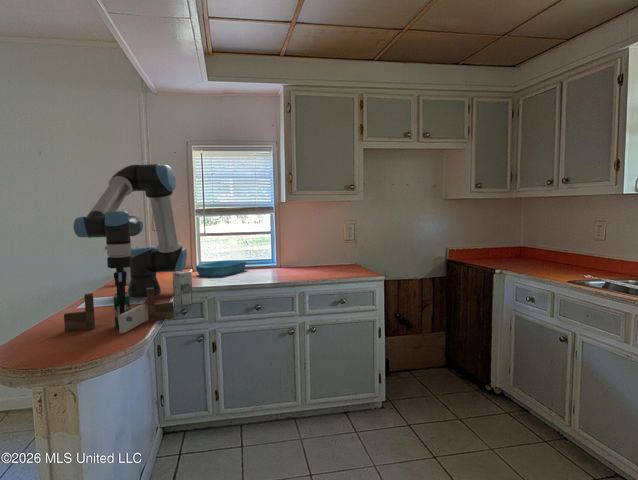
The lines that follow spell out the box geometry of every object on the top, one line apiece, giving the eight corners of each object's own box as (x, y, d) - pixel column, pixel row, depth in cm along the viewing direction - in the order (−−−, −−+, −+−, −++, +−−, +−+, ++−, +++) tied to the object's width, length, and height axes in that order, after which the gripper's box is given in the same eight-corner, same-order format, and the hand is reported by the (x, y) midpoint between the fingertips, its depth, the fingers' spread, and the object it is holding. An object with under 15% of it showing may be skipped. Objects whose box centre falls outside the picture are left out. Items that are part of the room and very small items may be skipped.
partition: (66, 330, 139) (63, 295, 138) (173, 316, 154) (171, 285, 153) (64, 332, 136) (62, 297, 135) (174, 318, 151) (172, 286, 150)
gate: (142, 320, 148) (141, 304, 147) (149, 320, 148) (148, 304, 147) (119, 333, 133) (118, 315, 132) (127, 333, 133) (126, 315, 132)
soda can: (115, 326, 142) (113, 292, 142) (131, 324, 144) (129, 291, 144) (114, 330, 138) (112, 295, 137) (131, 328, 140) (129, 294, 139)
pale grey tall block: (121, 284, 226) (119, 246, 224) (129, 282, 232) (127, 245, 230) (131, 285, 224) (129, 247, 222) (139, 283, 229) (137, 246, 228)
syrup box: (185, 302, 177) (183, 270, 176) (193, 304, 174) (191, 271, 172) (173, 305, 173) (172, 272, 172) (181, 307, 169) (179, 273, 168)
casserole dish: (224, 269, 281) (224, 259, 281) (252, 270, 273) (251, 259, 272) (188, 277, 248) (188, 266, 247) (218, 279, 239) (218, 267, 238)
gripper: (108, 253, 147) (111, 315, 149) (105, 260, 128) (109, 330, 131) (130, 252, 150) (134, 312, 152) (131, 258, 132) (135, 326, 134)
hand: (122, 320), depth 141 cm, fingers open, 7 cm apart
